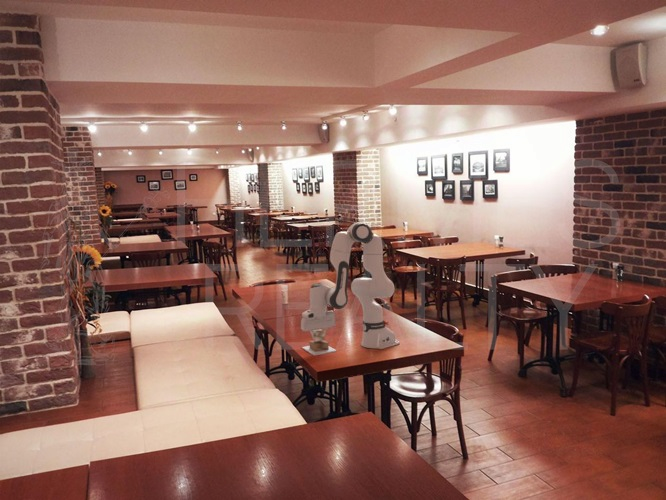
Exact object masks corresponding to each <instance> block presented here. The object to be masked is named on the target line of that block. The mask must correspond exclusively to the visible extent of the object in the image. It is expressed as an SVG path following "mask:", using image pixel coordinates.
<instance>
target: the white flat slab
mask: <svg viewBox="0 0 666 500" xmlns="http://www.w3.org/2000/svg"><path fill="white" fill-rule="evenodd" d="M301 349H303V350H305V351H306V352H308V353H309V354H310V355H312V356H314V357H315V356H318V355H319V356H320V355H325V354H330V353H336V352H338V350H337V349H335V348H333V347H331V346H329V349H328V350H323V351H317V352H315V351H314V350H312V349H310V345H305V346H302V347H301Z"/></svg>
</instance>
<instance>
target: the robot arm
mask: <svg viewBox="0 0 666 500" xmlns="http://www.w3.org/2000/svg"><path fill="white" fill-rule="evenodd" d="M331 243H332V244H331V249H330V253H329V260H330V263H331V265H332V266H333V267H334V269H335V272H336V278H335V279H336V280H335V287H331V286H328V285H326V284H324V283H322V282H317V283H314V284H312V285H311V286H310V288H309V302H310V306H309V309H307V310H305V311H303V312H302V313H301V316H302V318H301V320H300V329H301V330H302V332H309V333H310V334H311V338H312V339H313V338H314V337H315V334H314V333H313V332H314V330H320V329H321V330H323V331H325V337H326V335H327V334H326V333H327V331H328V328H333V327H335V326H336V318H335V316H336V314H335V311H333V310H327V306H328V305H329V306H331V307H332V308H334V309H335V310H342V309H344V308H345V307H346V305H347V304H348V301H349V296H348V284H349V283H348V281H349V274H350V273H349V271H350V257H351V251H352V246H353V245H354V243H361V244H362V246H363V247H362V248H363V251H362V253H363V254H362V255H363V258H362V264H363V265H362V266H363V268H364V270H366V271H367V272H368V273H369V274H370V275H371V277H357V278H354V279H353V280H352V282H351V283H350V289H351V292H352V294H353V295H354V296H356V298H357V299H358V300H359V302H360V304H361V307H362V315H363V317H362V318H363V320H362V339H361V344H360V345H361V347H363V348H368V349H379V350H382V349H387V348H390V347H393V346H397V345H400V340H398V339H396V334H395V332H394V331H393V330H391V329H390V328H388V327H387V326H388V325H389V323H390V321H387V320H384V319H383V318H384V317H383V312H384V311H383V307H382V305H381V304H379V303H378V302H377V301H376V299H374V298H377V299H387V298H388V299H389V298H391V297H392V296H393V295H394V293H395V285H394V282H393V281H392V280H391V279H390V278H389V277H388V276H387V274H386V272H385V269H384V258H383V257H384V256H383V254H384V251H383V241H382V237H381V236H380V235H379V234H374V233H373V231H372V229H371V228H370V226H369V225H368V224H367V223H366V222H361V221H358V222H353V223H351V225H349V226H348V227H347V229H346V230H345V231H339V232H337V233H335V235H334V238H333V241H332V242H331ZM386 325H387V326H386Z"/></svg>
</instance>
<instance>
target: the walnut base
mask: <svg viewBox="0 0 666 500" xmlns="http://www.w3.org/2000/svg"><path fill="white" fill-rule="evenodd" d="M308 343H309V346H310V349H312V350H314V351H315V352H317V351H323V350H328V349H329V342H328V341H327V340H326V339H325V340H322V341H315V340H314V339H312V340H309V342H308Z"/></svg>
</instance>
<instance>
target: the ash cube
mask: <svg viewBox="0 0 666 500" xmlns="http://www.w3.org/2000/svg"><path fill="white" fill-rule="evenodd" d="M313 333H314V334H315V337H314V338H313V337H312V340H315V341H322V340H325V341H326V336H325V331H324V329H316V330H314V332H313Z"/></svg>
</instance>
